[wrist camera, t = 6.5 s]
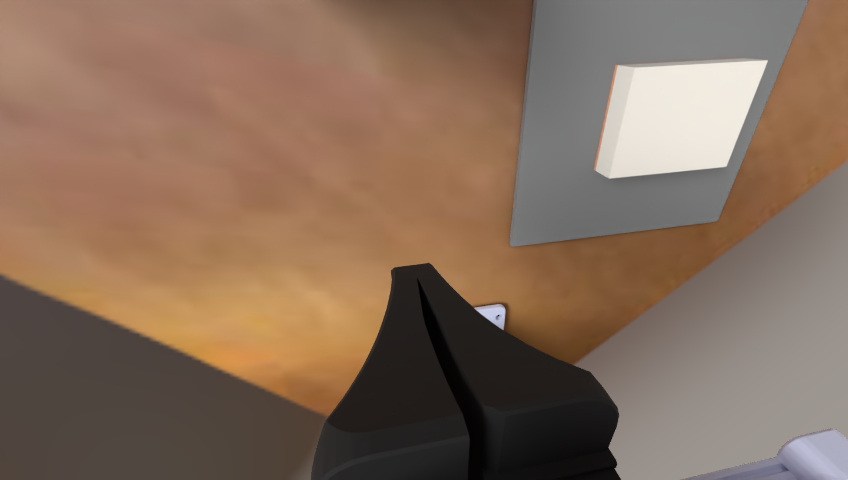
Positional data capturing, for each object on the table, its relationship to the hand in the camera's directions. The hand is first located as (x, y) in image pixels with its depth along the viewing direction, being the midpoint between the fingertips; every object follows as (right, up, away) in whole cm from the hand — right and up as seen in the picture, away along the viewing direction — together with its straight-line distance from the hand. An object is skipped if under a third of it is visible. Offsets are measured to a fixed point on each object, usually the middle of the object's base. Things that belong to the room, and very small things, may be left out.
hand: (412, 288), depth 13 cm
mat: (+14, +9, +10) cm, 19 cm away
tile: (+15, +9, +9) cm, 20 cm away
